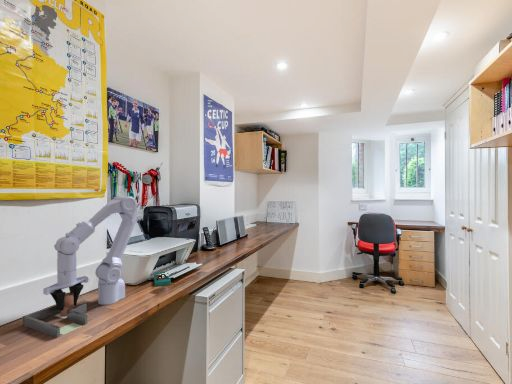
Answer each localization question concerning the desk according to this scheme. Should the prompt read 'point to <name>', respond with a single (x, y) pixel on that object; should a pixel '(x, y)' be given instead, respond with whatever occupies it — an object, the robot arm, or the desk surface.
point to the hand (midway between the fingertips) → (67, 307)
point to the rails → (34, 318)
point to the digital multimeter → (161, 279)
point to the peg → (68, 303)
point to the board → (67, 328)
